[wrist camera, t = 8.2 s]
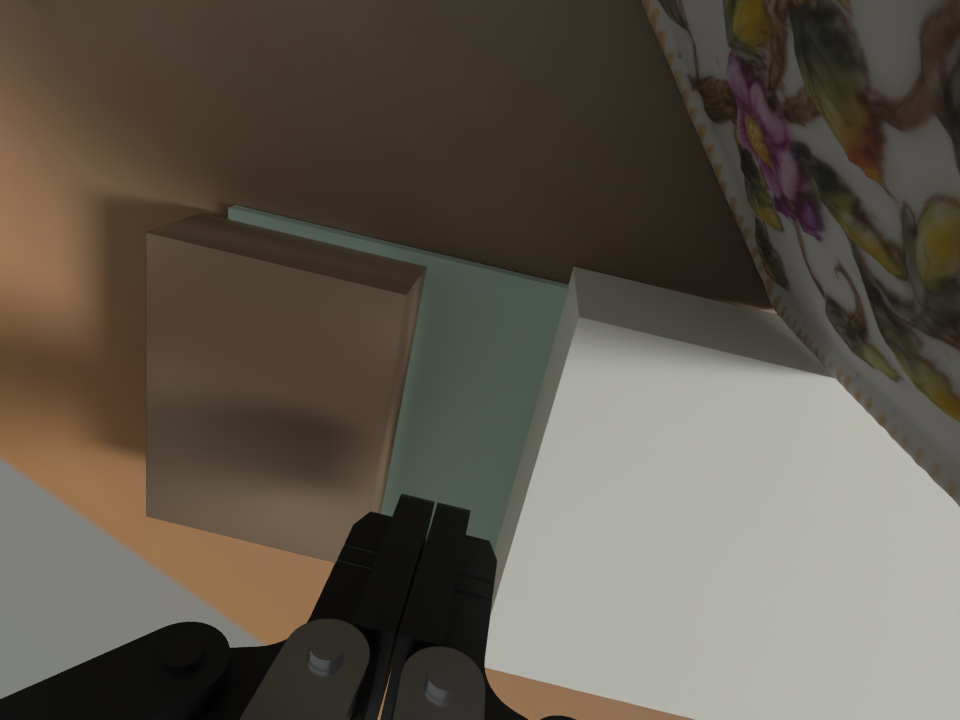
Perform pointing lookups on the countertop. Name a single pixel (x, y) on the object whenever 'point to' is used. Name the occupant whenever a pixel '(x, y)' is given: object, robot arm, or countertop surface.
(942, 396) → the decorative jar
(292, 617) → the countertop surface
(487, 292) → the mat
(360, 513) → the walnut tile
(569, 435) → the block
